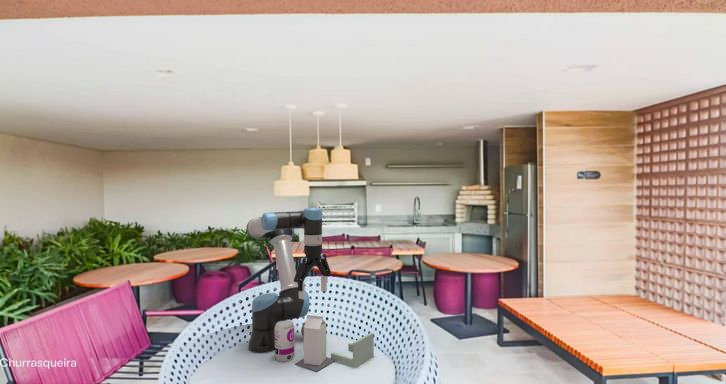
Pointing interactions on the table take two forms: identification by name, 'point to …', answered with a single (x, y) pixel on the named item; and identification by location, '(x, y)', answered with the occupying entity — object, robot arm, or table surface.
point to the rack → (357, 352)
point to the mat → (315, 367)
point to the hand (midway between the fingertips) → (313, 294)
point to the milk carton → (314, 340)
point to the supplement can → (284, 341)
